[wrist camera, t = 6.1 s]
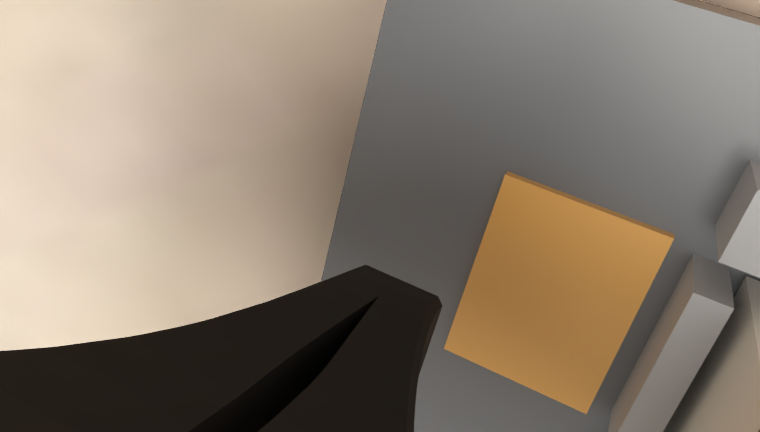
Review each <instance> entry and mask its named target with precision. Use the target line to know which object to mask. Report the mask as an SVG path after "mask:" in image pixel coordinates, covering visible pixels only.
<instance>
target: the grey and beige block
mask: <svg viewBox="0 0 760 432" xmlns="http://www.w3.org/2000/svg"><path fill="white" fill-rule="evenodd" d="M733 302H734V310H733V312H732V314H731V315H730V317H729V319H728V320H727V322H726V324H725V326H724V327H723V329H722V331H721V333H720V334H719V336H718V338H717V339H716V341H715V343H714V345H713V346H712V348H711V350H710V352H709V353H708V355H707V357H706V358H705V360H704V362H703V364H702V365H701V367H700V369H699V371H698V372H697V374H696V376H695V377H694V379H693V381H692V383H691V384H690V386H689V388H688V389H687V391H686V393H685V395H684V396H683V398H682V400H681V402H680V403H679V405H678V407H677V408H676V410H675V412H674V414H673V415H672V417H671V419H670V421H669V422H668V424H667V426H666V427H665V429H664V431H663V432H760V281H758V280H755V279H753V278H750V277H747V276H746V277H745V279H744V280H743V282H742V284H741V285H740V287H739V289H738V291H737V292H736V294H735V296H734V298H733Z"/></svg>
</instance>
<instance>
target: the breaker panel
mask: <svg viewBox="0 0 760 432" xmlns="http://www.w3.org/2000/svg"><path fill="white" fill-rule="evenodd" d="M363 265H368V266H370V267H372V268H375V269H377V270H379V271H382V272H384V273H386V274H388V275H391V276H393V277H395V278H398V279H400V280H402V281H404V282H407V283H409V284H411V285H414V286H416V287H418V288H420V289H423V290H425V291H427V292H430V293H432V294H434V295H436V296H438V297H439V299H440V301H441V303H442V309H441V312H440V315H439V318H438V321H437V324H436V327H435V330H434V332H433V335H432V338H431V341H430V344H429V347H428V350H427V353H426V356H425V359H424V362H423V365H422V368H421V371H420V374H419V377H418V384H417V393H416V403H415V419H414V432H663V431H664V429H665V427H666V426H667V424H668V422H669V421H670V419H671V417H672V415H673V414H674V412H675V410H676V408H677V407H678V405H679V403H680V402H681V400H682V398H683V396H684V395H685V393H686V391H687V389H688V388H689V386H690V384H691V383H692V381H693V379H694V377H695V376H696V374H697V372H698V371H699V369H700V367H701V365H702V364H703V362H704V360H705V358H706V357H707V355H708V353H709V352H710V350H711V348H712V346H713V345H714V343H715V341H716V339H717V338H718V336H719V334H720V333H721V331H722V329H723V327H724V326H725V324H726V322H727V320H728V319H729V317H730V315H731V314H732V312H733V310H734V302H733V298H734V296H735V294H736V292H737V291H738V289H739V287H740V285H741V284H742V282H743V280H744V279H745V277H746V276H747V277H750V278H753V279H755V280H758V281H760V18H758V17H754V16H751V15H747V14H744V13H740V12H737V11H733V10H730V9H727V8H723V7H720V6H716V5H713V4H709V3H706V2H702V1H699V0H387V3H386V7H385V11H384V15H383V20H382V24H381V28H380V33H379V37H378V41H377V45H376V50H375V54H374V58H373V62H372V67H371V71H370V75H369V79H368V84H367V88H366V92H365V97H364V101H363V105H362V109H361V114H360V118H359V122H358V126H357V131H356V135H355V139H354V144H353V148H352V152H351V156H350V161H349V165H348V169H347V173H346V178H345V182H344V186H343V190H342V195H341V199H340V203H339V208H338V212H337V216H336V220H335V225H334V229H333V233H332V237H331V242H330V246H329V250H328V254H327V259H326V263H325V267H324V272H323V276H322V280H321V282H322V281H324V280H327V279H329V278H332V277H334V276H337V275H339V274H342V273H345V272H347V271H350V270H353V269H355V268H358V267H361V266H363Z"/></svg>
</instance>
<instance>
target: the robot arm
mask: <svg viewBox="0 0 760 432" xmlns="http://www.w3.org/2000/svg"><path fill="white" fill-rule="evenodd" d="M441 309H442V303H441V301H440V299H439V297H438V296H436V295H434V294H432V293H430V292H427V291H425V290H423V289H420V288H418V287H416V286H414V285H411V284H409V283H407V282H404V281H402V280H400V279H398V278H395V277H393V276H391V275H388V274H386V273H384V272H382V271H379V270H377V269H375V268H372V267H370V266H368V265H363V266H361V267H358V268H355V269H353V270H350V271H347V272H345V273H342V274H339V275H337V276H334V277H332V278H329V279H327V280H324V281H322V282H319V283H316V284H314V285H311V286H309V287H306V288H304V289H301V290H298V291H296V292H293V293H290V294H287V295H285V296H282V297H279V298H276V299H273V300H271V301H268V302H265V303H262V304H258V305H255V306H252V307H249V308H245V309H242V310H239V311H236V312H232V313H229V314H226V315H223V316H219V317H216V318H213V319H209V320H205V321H202V322H198V323H194V324H189V325H185V326H181V327H177V328H172V329H167V330H162V331H157V332H152V333H148V334H143V335H137V336H131V337H125V338H118V339H111V340H103V341H96V342H88V343H81V344H73V345H66V346H59V347H49V348H37V349H24V350H11V351H0V432H414V419H415V403H416V393H417V384H418V377H419V374H420V371H421V368H422V365H423V362H424V359H425V356H426V353H427V350H428V347H429V344H430V341H431V338H432V335H433V332H434V330H435V327H436V324H437V321H438V318H439V315H440V312H441Z"/></svg>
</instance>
